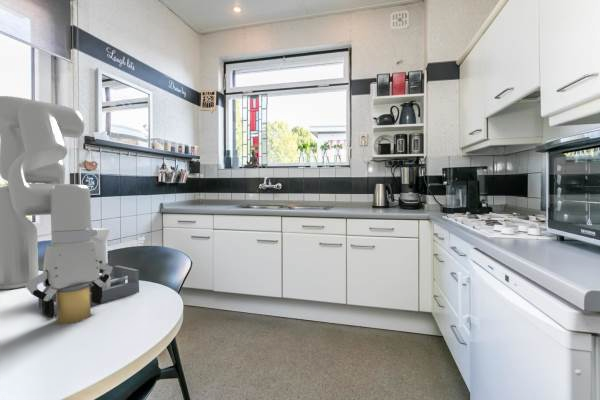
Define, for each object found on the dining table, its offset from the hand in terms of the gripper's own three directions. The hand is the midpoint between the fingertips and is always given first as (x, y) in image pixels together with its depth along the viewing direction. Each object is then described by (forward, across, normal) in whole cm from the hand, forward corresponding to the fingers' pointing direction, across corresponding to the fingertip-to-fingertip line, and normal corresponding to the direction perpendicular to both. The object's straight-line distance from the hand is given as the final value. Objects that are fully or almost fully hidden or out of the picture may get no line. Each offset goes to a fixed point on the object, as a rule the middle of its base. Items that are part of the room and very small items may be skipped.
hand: (74, 309), depth 72 cm
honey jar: (+2, 0, 0) cm, 2 cm away
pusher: (+2, -15, -10) cm, 18 cm away
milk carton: (+2, -14, -22) cm, 26 cm away
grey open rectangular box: (+2, -8, -10) cm, 13 cm away
